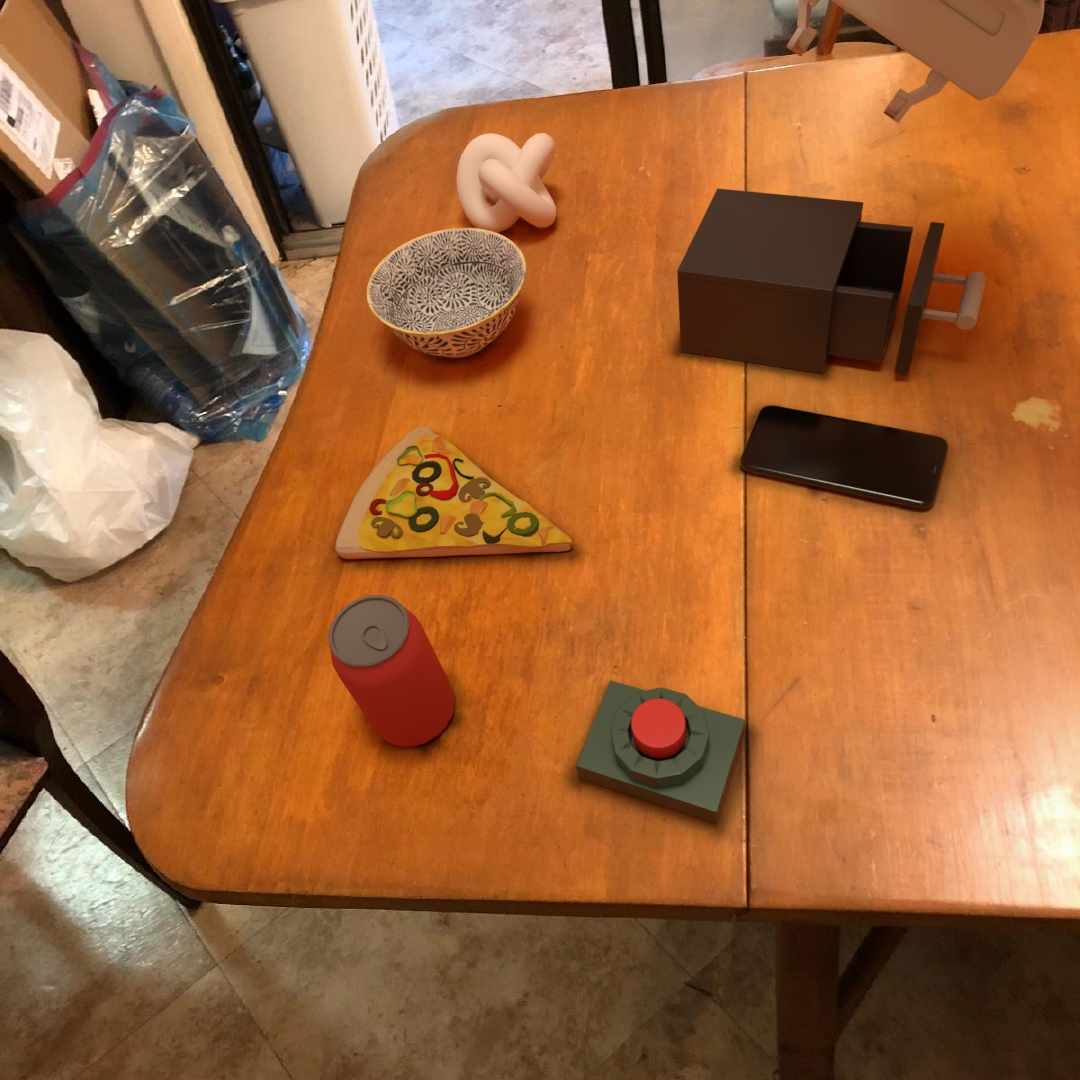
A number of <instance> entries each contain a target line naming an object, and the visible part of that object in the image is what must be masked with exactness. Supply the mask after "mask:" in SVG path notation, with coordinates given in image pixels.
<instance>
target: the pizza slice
mask: <svg viewBox="0 0 1080 1080" xmlns="http://www.w3.org/2000/svg"><path fill="white" fill-rule="evenodd" d="M571 545H573V541H572V539H571V537H570V536H569V535H568V534H566V533H565V532H563V531H562V530H561V529H560V528H558V527H557V526H556V525H555V524H553V523H552V522H551V521H550V520H549V519H548V518H547V517H546V516H544V515H543V514H542V513H540V512H539V511H537V510H536V509H535V508H533V507H532V506H531V505H530V504H529V503H528V502H526V501H524V500H523V499H520V498H519V497H518V496H516V495H514V494H513V493H511V492H510V491H508V489H506V488H505V487H503V486H502V485H500V484H499V483H498V482H497V481H494V479H492V478H490V476H488V475H487V474H486V473H484V472H483V471H482V470H481V469H480V468H479V467H478V466H477V465H476V464H475V463H474V462H473V461H472V460H470V459H469V457H467V456H466V455H465V453H463V452H462V451H461V449H459V448H457V446H455V445H453V443H452V442H450V441H449V440H447V439H445V437H444V436H443V435H441V436H440V435H439V434H436V433H435V431H434V430H433V429H431V428H430V427H429V426H426V425H420V426H418V427H415V428H414V429H413V430H412V431H410V432H409V433H407V435H406V436H404V437H403V438H402V439H401V440H400V441H399V442H398V443H396V444H395V445H394V446H393V448H392V449H390V451H388V452H387V454H385V455H384V456H383V457H382V459H381V460H380V461H379V463H377V465H376V466H375V467H374V468H373V469H372V471H371V472H370V474H368V475H367V478H366V479H365V480H364V481H363V483H362V484H361V486H360V487H359V489H358V490H357V493H356V494H355V496H354V497H353V499H352V500H351V504H350V505H349V508H348V510H347V513H346V515H345V517H344V520H343V522H342V524H341V526H340V529H339V532H338V535H337V537H336V541H335V546H334V547H335V548H334V550H335V553H336V554H337V555H338V556H339V557H340V558H342V559H345V560H359V559H388V558H389V559H390V558H393V559H394V558H395V559H396V558H423V557H424V558H425V557H427V558H429V557H433V558H434V557H448V556H450V557H451V556H476V555H477V556H483V555H504V554H505V555H506V554H522V553H523V554H524V553H551V552H552V553H553V552H555V553H556V552H557V553H559V552H567V551H570V550H571V549H572V548H571Z"/></svg>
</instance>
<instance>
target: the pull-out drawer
mask: <svg viewBox="0 0 1080 1080" xmlns="http://www.w3.org/2000/svg"><path fill="white" fill-rule="evenodd" d="M945 225H946V224H945V223H944V222H937V221H930V223H929V226H928V230H927V233H926V237H925V241H924V244H923V247H922V251H921V254H920V259H919V262H918V265H917V268H916V272H915V275H914V280H913V283H912V287H911V291H910V294H909V296H908V301H907V305H906V309H905V315H904V320H903V325H902V330H901V331H902V332H901V336H900V341H899V346H898V351H897V356H896V360H895V366H894V371H893V373H894V374H898V375H905V376H908V375H909V373H910V369H911V365H912V362H913V358H914V354H915V349H916V348H917V347H916V346H917V343H918V338H919V335H920V331H921V329H922V325H923V324H922V323H923V320H924V319H925V320H934V321H939V322H940V321H941V322H948V323H955V325H956V327H957V328H958V329H959V330H963V331H969V330H972V329H974V328H975V327H976V325H977V321H978V317H979V311H980V307H981V303H982V299H983V294H984V291H985V290H984V289H985V286H986V285H985V284H986V282H987V281H986V280H987V279H986V278H987V277H986V275H985V274H984V273H983V272H981V271H972V272H970V273H968V275H967V276H965V275H958V274H957V275H956V274H949V273H940V272H935V271H936V266H937V261H938V256H939V252H940V247H941V243H942V238H943V234H944V228H945ZM913 231H914V227H913V226H908V225H899V224H897V225H896V224H887V223H878V222H870V221H869V222H868V221H861V222H859V221H858V224H857V227H856V230H855V233H854V236H853V239H852V242H851V244H850V247H849V250H848V253H847V256H846V259H845V262H844V265H843V268H842V270H841V273H840V276H839V279H838V282H837V285H836V288H835V291H834V297H833V306H832V314H831V323H830V331H829V340H828V348H827V355H829V356H831V357H832V356H833V357H839V358H846V359H851V360H858V361H865V362H871V363H877V364H878V363H880V364H881V363H882V361H883V357H884V353H885V350H886V347H887V342H888V339H889V336H890V332H891V329H892V326H893V322H894V319H895V315H896V312H897V308H898V305H899V302H900V298H901V294H902V290H903V285H904V279H905V274H906V268H907V264H908V258H909V254H910V247H911V243H912V236H913V233H914V232H913ZM933 283H937V284H938V283H939V284H947V285H955V286H956V285H957V286H963V290H962V293H961V298H960V302H959V306H958V311H957V312H952V311H951V312H950V311H943V310H937V309H928V308H927V305H928V301H929V297H930V293H931V289H932V285H933Z"/></svg>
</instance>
